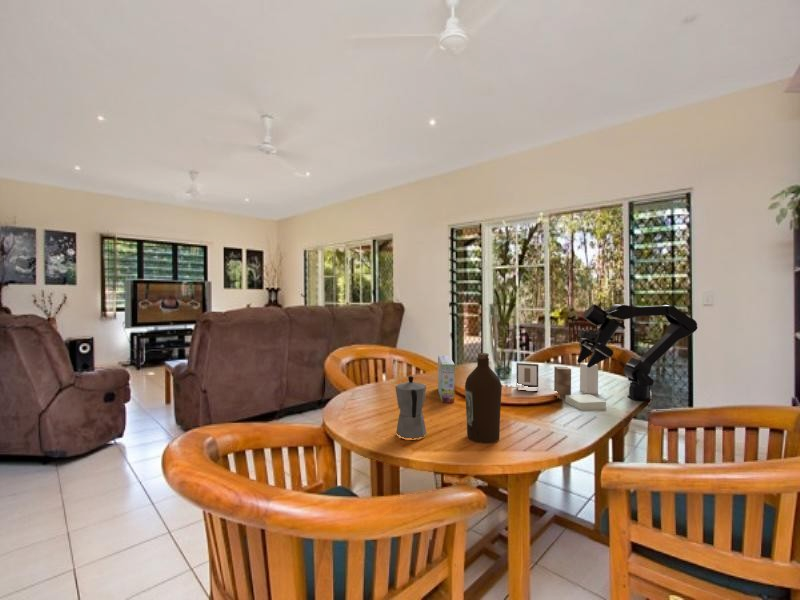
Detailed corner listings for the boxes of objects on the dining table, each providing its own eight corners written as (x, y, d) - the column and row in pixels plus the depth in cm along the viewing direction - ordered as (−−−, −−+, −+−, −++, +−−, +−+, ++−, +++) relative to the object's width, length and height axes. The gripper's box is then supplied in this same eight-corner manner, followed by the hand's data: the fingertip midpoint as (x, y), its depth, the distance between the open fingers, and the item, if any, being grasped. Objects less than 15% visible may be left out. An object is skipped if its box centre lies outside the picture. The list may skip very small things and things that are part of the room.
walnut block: (566, 395, 159) (567, 366, 159) (570, 399, 154) (571, 369, 154) (554, 395, 160) (554, 366, 159) (557, 398, 155) (558, 368, 154)
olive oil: (496, 430, 121) (496, 350, 120) (505, 444, 110) (505, 356, 109) (462, 430, 121) (462, 350, 120) (468, 444, 110) (468, 356, 110)
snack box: (455, 402, 151) (455, 364, 150) (441, 402, 151) (441, 364, 150) (449, 388, 172) (449, 354, 171) (437, 388, 172) (436, 354, 171)
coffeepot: (393, 428, 124) (393, 372, 123) (423, 426, 125) (422, 371, 124) (398, 447, 108) (397, 383, 108) (431, 446, 109) (431, 382, 109)
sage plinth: (589, 401, 152) (589, 394, 152) (605, 409, 142) (606, 401, 142) (565, 402, 151) (565, 395, 151) (580, 410, 141) (580, 402, 141)
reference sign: (516, 387, 173) (516, 362, 173) (538, 388, 170) (538, 363, 170) (516, 390, 168) (516, 364, 167) (538, 392, 165) (538, 365, 164)
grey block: (590, 390, 167) (591, 362, 167) (598, 393, 162) (598, 364, 162) (579, 390, 167) (580, 362, 166) (586, 393, 162) (586, 365, 161)
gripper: (578, 319, 163) (557, 349, 164) (598, 323, 145) (575, 357, 146) (601, 333, 163) (580, 364, 164) (624, 339, 144) (600, 374, 145)
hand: (582, 364), depth 155 cm, fingers open, 9 cm apart
